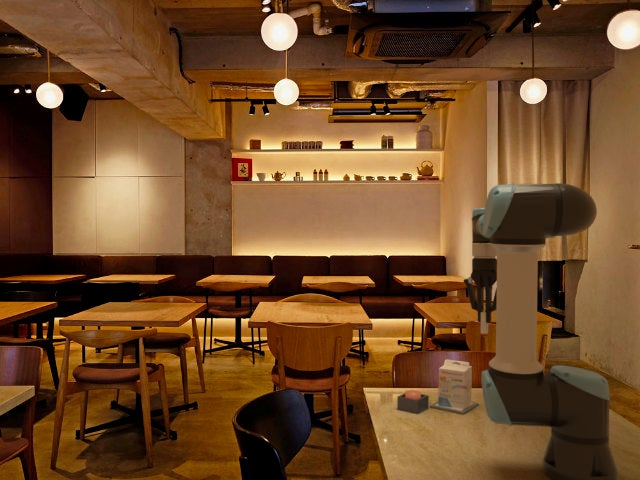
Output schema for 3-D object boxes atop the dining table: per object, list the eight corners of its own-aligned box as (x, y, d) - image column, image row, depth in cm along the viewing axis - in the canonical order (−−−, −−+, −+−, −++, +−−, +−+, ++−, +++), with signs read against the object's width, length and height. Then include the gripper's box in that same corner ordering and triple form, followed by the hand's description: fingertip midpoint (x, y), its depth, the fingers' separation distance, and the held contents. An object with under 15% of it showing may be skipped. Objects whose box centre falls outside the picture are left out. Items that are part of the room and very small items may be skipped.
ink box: (437, 405, 167) (437, 362, 167) (445, 398, 175) (445, 357, 175) (465, 409, 163) (465, 365, 163) (472, 402, 170) (472, 360, 170)
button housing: (417, 414, 161) (417, 400, 161) (397, 409, 166) (397, 396, 166) (428, 408, 167) (428, 395, 167) (408, 404, 171) (408, 391, 171)
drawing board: (463, 414, 161) (463, 412, 161) (430, 407, 168) (430, 405, 168) (479, 405, 170) (479, 402, 170) (446, 398, 177) (446, 396, 177)
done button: (416, 408, 163) (416, 395, 163) (402, 405, 166) (402, 392, 166) (423, 405, 167) (423, 392, 167) (409, 402, 170) (409, 389, 170)
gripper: (509, 257, 167) (509, 333, 167) (468, 256, 175) (468, 329, 175) (501, 258, 161) (501, 336, 161) (460, 257, 169) (459, 332, 169)
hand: (484, 332), depth 168 cm, fingers closed
